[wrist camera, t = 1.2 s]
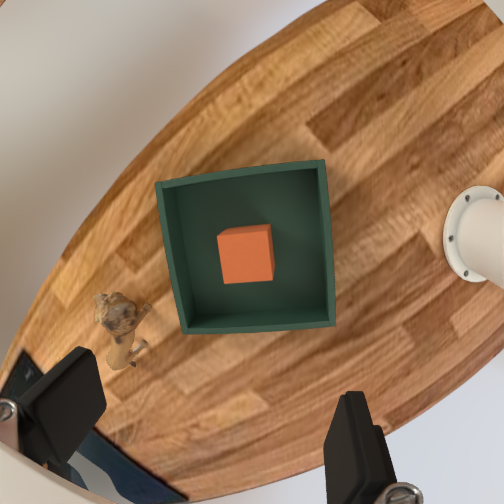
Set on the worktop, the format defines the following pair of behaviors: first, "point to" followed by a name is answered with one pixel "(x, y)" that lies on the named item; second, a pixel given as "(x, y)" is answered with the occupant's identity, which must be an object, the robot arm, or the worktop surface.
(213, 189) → the crate
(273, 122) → the worktop surface
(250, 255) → the toy cube
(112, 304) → the lion figurine
